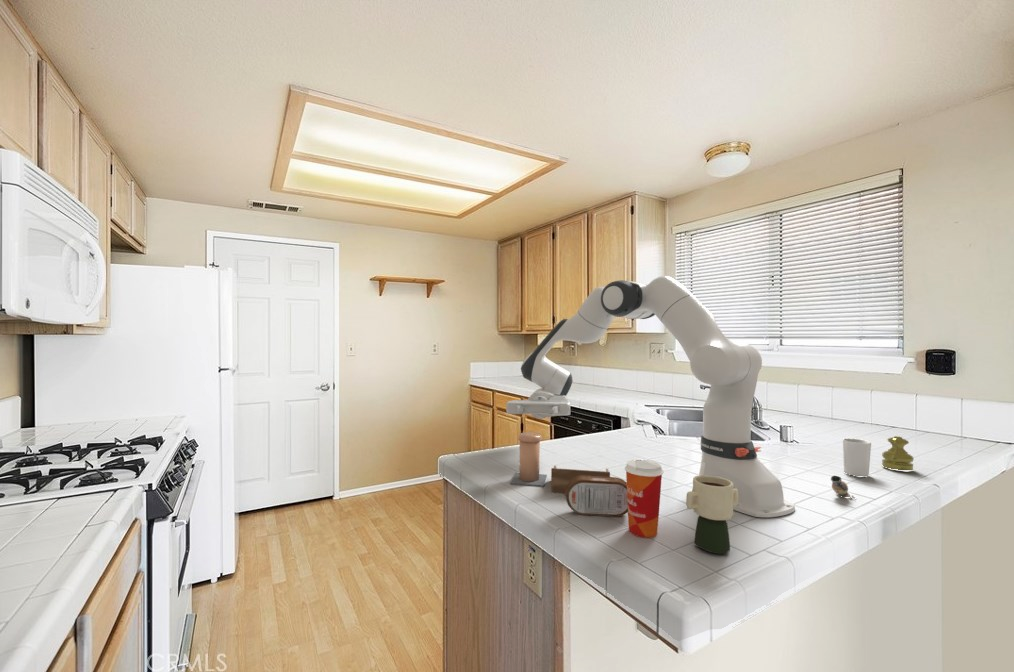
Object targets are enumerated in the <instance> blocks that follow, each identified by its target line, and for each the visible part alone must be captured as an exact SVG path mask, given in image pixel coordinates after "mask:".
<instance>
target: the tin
mask: <svg viewBox="0 0 1014 672" xmlns="http://www.w3.org/2000/svg"><path fill="white" fill-rule="evenodd" d="M564 496H565V499H566V503H567V505H568V507H569V508H570V510H571V511H573V512H574V513H576V514H578V515H582V516H596V517H597V516H599V517H611V518H612V517H614V518H615V517H616V518H617V517H618V518H619V517H622V516H624V515H626V514H628V502H627V481H625V480H624V479H622V478H620V477H615V476H610V477H600V476H583V475H582V476H577V477H575V478H573V479H572V480H570V481H569V483H568V484H567V486H566V489H565V493H564Z"/></svg>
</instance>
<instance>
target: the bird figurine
mask: <svg viewBox="0 0 1014 672" xmlns="http://www.w3.org/2000/svg"><path fill="white" fill-rule="evenodd" d="M830 481H831V482H832V483H831V488H832V490H833V493H835V495H836V496H838V495H839V496H838V497H840V496H842V497H841V498H843V497H850V498H851V497H852V498H853V499H855V498H856V497H855V496H854V495H851V494H850V493H849V492H848V491H849V487H848V484H847V483H846V482H845V481H843V480H842V477H841V476H839V475H832V476H831V477H830Z"/></svg>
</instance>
